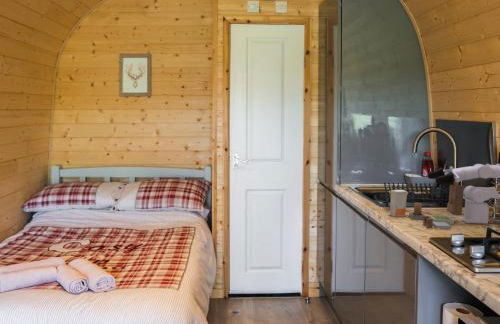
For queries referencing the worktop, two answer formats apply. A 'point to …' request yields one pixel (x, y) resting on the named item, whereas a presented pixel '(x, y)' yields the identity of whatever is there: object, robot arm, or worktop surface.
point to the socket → (416, 216)
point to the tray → (442, 219)
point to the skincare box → (398, 203)
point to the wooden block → (455, 199)
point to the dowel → (417, 208)
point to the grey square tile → (441, 225)
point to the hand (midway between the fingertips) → (432, 178)
